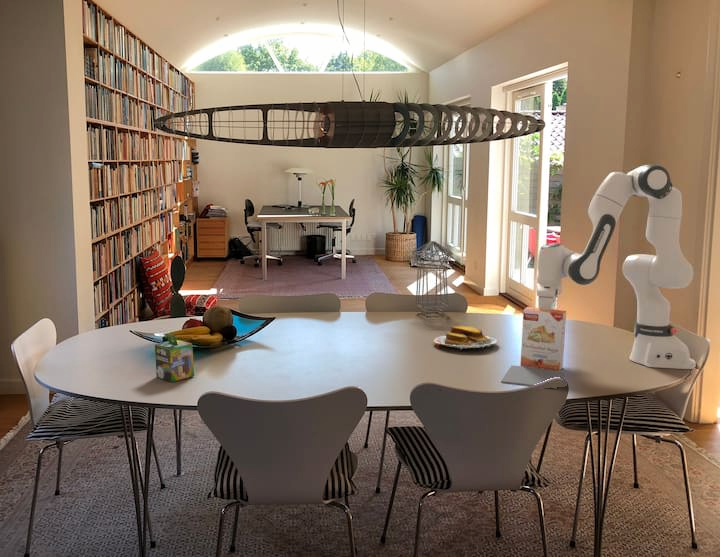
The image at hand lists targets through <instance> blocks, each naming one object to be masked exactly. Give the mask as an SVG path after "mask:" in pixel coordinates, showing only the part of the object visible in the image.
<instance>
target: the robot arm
mask: <svg viewBox="0 0 720 557" xmlns="http://www.w3.org/2000/svg"><path fill="white" fill-rule="evenodd" d="M631 197H642V198H643V197H645V198H647V200H648V206H649V209H648V215H647V223H646V228H645V238H646V240H647V242H648V243H650V244H651V245H653V247H654V248H655V253H656V255H654V254H646V253H645V254H644V253H640V254H638V253H637V254H629V255H628V256H627V257H626V259H624V262H623V263H622V274H623V276H624V278H625V279H626V280H627V281H628V282H629V284H630V285H631V286H632V288H633V290H634V293H635V296H636V301H637V302H636V303H637V306H636V307H637V308H636V309H637V310H636V312H637V313H636V321H635V323H634V334H633V335H634V342H633V345H632V349H631V353H630V355H629V360H630V361H632V362H634V363H637V364H641V365H643V366H645V367H648V368H658V369H659V368H661V369H678V370H679V369H680V370H694V369H695V368H696V367H697V365H696V364H697V363H696V361H695V359H693V358H691V357H690V354H691V353H690V350H689V348H688V346H687V345H686V344H685V343H684V342H683V341H682V340H681V339H679V337H677V336H676V335H675V334H677V332H678V331H677V329H676V327H675V326H674V325H673V324H670V318H671V317H670V316H671V306H672V305H671V303H670V301H669V300H668V299H667V298H666V297H664V296H663V294H662V292H661V290H660V289H659V287H660V288H665V289H672V290H673V289H684V288H687V287H688V286H689V285H690V284H691V283H692V280H693V278H694V269H693V266H692V264H691V263H690V262H689V260H687V258H686V257H685V256H684V254H683V252H682V249H681V246H680V230H681V223H682V215H683V196H682V192H681V191H680V190H679V189H678V188H676V187H674V186H673V183H672V181H671V177H670V173H669V172H668V170H667V169H666V168H665V167H664V166H663V165H659V164H645V165H644V164H643V165H641V166H639V167H638V166H637V167H634V168H632V169H630V170H629V171H627V172H625V173H624V172H621V171H613V172H610V173H609V174H608V175H607V176H606V178H604V180H603V181H602V182H601V184H600V185H599V186H598V188H597V189H596V191H595V193H594V195H593V196H592V199H591V201H590V203H589V207H588V210H587V213H588V218H589V220H590V221H591V223H592V226H593V228H592V233H591V236H590V238H589V240H588V242H587V244H586V247H585V249H584V251H583V252H581V253H579V252H576V251H573V250H570V249H569V248H567V247H565V246H564V245H563V244H561V243H559V242H550V243H546V244H543V245H542V246H541V247H540V249H539V252H538V256H537V257H538V258H537V278H536V290H535V292H536V296H537V298H538V301H537V302H538V304H537V305H538V306H537V308H539V309H541V310H551V309H553V310H556V306H557V298H558V295H561V294H562V289H563V288H562V286H563V285H562V284H563V278H567V279H569V280H572V281H573V282H575V283H576V284H578V285H581V286H586V285H589V284H591V283H594V281H595V280H596V279H597V278H598V276H599V275H600V274H599V273H600V269H601V261H602V259H603V256H604V254H605V252H606V250H607V247H608V245H609V243H610V241H611V238H612V236H613V234H614V231H615V229H616V228H615V227H616V225H617V221H618V219H619V218H620V215H621V214H622V211H623V210H624V208H625V206H626V203H627V202H628V201H629V199H630V198H631Z"/></svg>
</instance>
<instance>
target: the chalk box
mask: <svg viewBox="0 0 720 557" xmlns="http://www.w3.org/2000/svg"><path fill="white" fill-rule="evenodd" d="M166 337H167V341H164V342H160V343H155V345H154V352H155V354H154V355H155V368H156V369H155V370H156V372H155V373H156V378H158V379H161V380H164V381H167V382H169V383H174V382H178V381H181V380H186V379H189V378H193V377H195V369H194V353H193V351H194V349H193V343H192V342H187V341H185V340H180V339H179V340H178V339H177V338H176V335H174V334H171V333H166ZM172 339H173V340H172Z"/></svg>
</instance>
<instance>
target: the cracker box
mask: <svg viewBox="0 0 720 557" xmlns="http://www.w3.org/2000/svg"><path fill="white" fill-rule="evenodd" d="M522 311H523V314H522V328H521V330H522V331H521V346H520V347H521V348H520V366H522V367H531V368H540V369H549V370H558V371H562V370H561V369H562V368H563V367H564V354H565V342H566V341H565V339H566V324H567V323H566V322H567V321H566V320H567V319H566V318H567V310H562V309H560V310H559V309H554V310H553V309H551V310H541V309H539V307H534V306H526V307H525V308H524V309H523V310H522Z"/></svg>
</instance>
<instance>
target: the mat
mask: <svg viewBox="0 0 720 557" xmlns="http://www.w3.org/2000/svg"><path fill="white" fill-rule="evenodd" d="M564 372H565V371H564V370H560V371H558V370H549V369H541V368H535V367H528V366H521V365H514V364H513V365H510V367H509V369H508V370H507V372H505V374H504V376H503V377H502V379H501V384H502V383H503V384H512V385H517V386H519V385H520V386H527V387H531V386H530V385H534V384H537V383H540V382H543V381H545V380H547V379H550V378H554V377H560V378H561V379H562V378H563V375H564Z"/></svg>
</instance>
